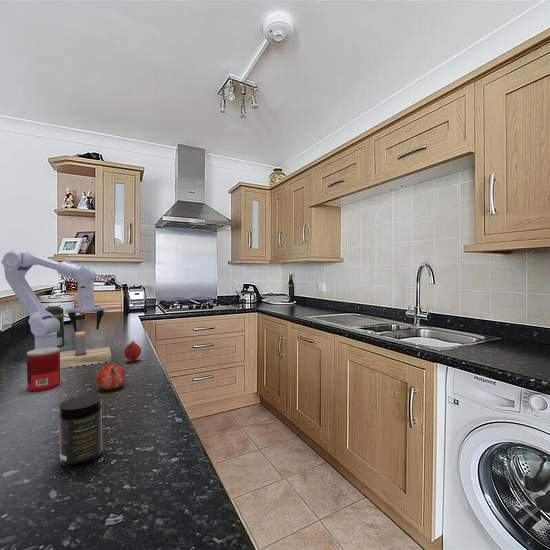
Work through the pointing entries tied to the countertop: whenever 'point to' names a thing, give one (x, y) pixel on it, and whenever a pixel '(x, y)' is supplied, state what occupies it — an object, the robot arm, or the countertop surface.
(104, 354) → the beige wooden board
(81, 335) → the orange brown rectangular block
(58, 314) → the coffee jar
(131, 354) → the onion
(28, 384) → the canned food
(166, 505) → the countertop surface
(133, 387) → the countertop surface
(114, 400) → the countertop surface
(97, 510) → the countertop surface
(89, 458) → the supplement container
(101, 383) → the pomegranate
